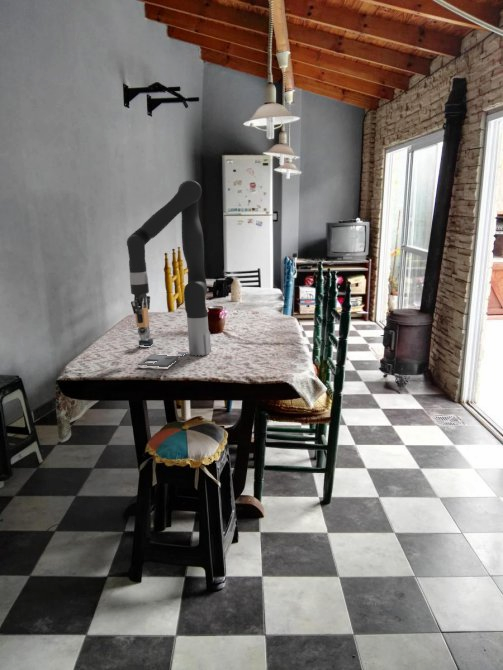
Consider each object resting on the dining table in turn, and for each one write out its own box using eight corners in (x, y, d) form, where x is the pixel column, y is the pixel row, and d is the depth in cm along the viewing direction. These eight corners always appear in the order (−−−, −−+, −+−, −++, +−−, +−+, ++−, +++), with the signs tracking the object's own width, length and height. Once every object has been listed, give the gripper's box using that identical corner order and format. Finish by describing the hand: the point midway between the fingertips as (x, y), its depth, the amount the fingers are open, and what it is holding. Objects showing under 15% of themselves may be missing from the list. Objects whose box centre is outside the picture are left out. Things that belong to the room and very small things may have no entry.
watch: (137, 348, 245) (135, 326, 242) (143, 344, 253) (142, 322, 250) (148, 348, 244) (146, 326, 241) (154, 344, 252) (152, 322, 249)
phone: (161, 353, 239) (161, 350, 238) (188, 354, 235) (188, 351, 235) (156, 356, 233) (156, 354, 233) (183, 358, 230) (183, 355, 229)
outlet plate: (178, 360, 224) (178, 355, 224) (167, 369, 212) (166, 364, 212) (151, 359, 228) (150, 354, 227) (138, 368, 215) (137, 363, 215)
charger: (149, 325, 225) (147, 306, 223) (145, 327, 222) (143, 308, 220) (140, 324, 226) (139, 306, 224) (136, 327, 223) (134, 308, 221)
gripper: (139, 285, 212) (143, 325, 216) (154, 279, 225) (157, 318, 229) (123, 285, 214) (127, 325, 218) (138, 279, 227) (142, 317, 231)
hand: (142, 321), depth 223 cm, fingers closed on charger, 4 cm apart
